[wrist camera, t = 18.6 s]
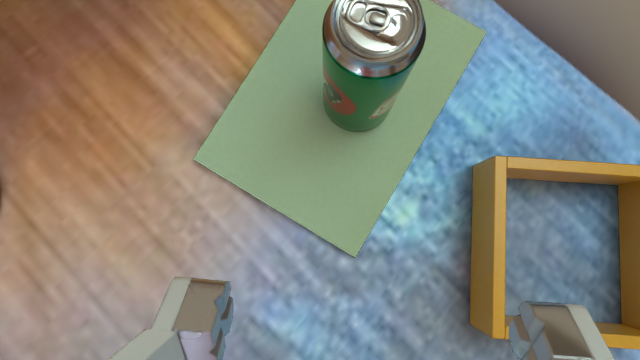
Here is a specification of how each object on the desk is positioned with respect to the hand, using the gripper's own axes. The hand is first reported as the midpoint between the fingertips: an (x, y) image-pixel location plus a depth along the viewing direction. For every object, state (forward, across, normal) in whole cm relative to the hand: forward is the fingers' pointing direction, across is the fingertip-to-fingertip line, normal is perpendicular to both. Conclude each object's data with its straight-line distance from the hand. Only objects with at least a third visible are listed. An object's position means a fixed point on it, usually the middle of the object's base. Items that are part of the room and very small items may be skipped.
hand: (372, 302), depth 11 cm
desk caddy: (+14, -15, +12) cm, 24 cm away
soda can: (+21, 0, +4) cm, 21 cm away
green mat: (+22, +1, +4) cm, 22 cm away
